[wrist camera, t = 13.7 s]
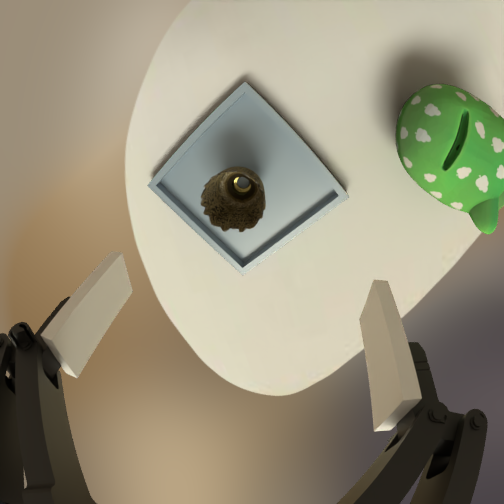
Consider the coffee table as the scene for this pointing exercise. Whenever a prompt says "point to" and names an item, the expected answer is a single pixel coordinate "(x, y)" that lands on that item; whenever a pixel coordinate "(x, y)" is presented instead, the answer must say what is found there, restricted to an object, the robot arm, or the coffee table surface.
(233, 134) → the tray
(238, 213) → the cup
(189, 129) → the coffee table surface
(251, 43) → the coffee table surface
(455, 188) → the piggy bank
